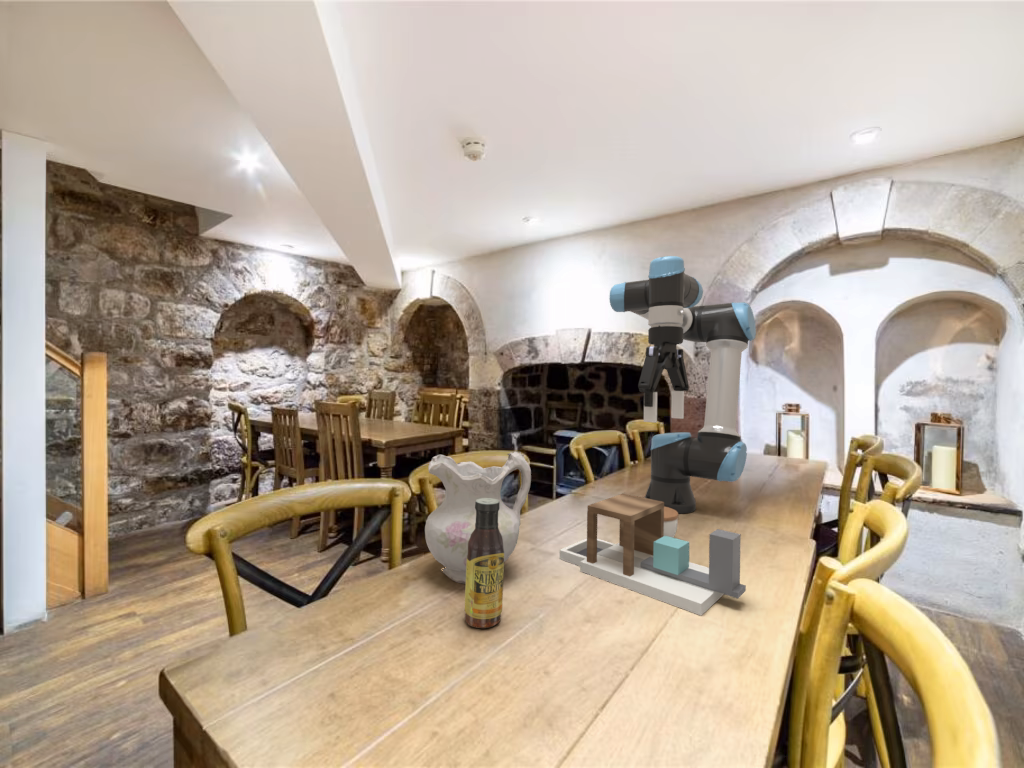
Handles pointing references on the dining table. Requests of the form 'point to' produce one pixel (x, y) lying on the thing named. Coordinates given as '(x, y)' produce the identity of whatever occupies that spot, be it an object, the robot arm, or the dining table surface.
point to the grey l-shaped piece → (714, 566)
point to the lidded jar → (670, 521)
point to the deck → (641, 576)
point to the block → (671, 555)
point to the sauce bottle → (484, 567)
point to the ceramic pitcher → (471, 509)
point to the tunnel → (628, 526)
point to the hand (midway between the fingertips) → (664, 420)
